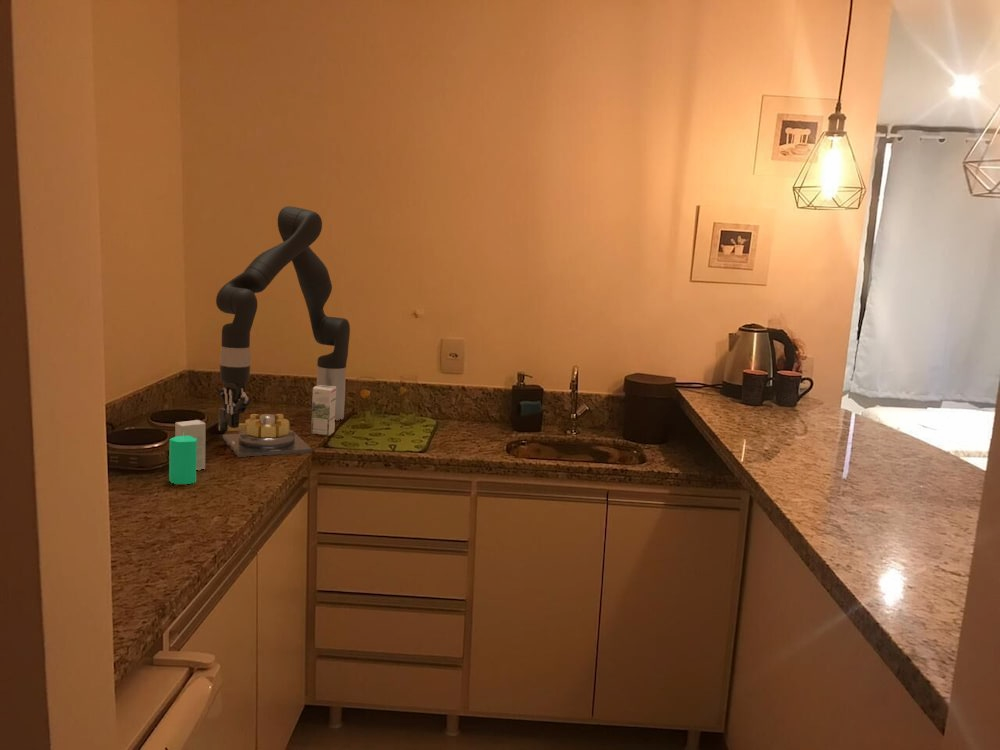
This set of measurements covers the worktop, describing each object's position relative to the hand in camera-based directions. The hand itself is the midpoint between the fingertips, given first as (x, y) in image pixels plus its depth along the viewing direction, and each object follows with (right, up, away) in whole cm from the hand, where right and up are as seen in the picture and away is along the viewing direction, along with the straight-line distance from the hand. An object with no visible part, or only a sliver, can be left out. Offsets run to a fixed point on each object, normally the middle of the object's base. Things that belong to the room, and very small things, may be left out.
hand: (233, 427), depth 207 cm
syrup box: (+17, -4, +29) cm, 34 cm away
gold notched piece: (+2, -2, +9) cm, 10 cm away
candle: (-4, -11, -24) cm, 27 cm away
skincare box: (-6, -10, -15) cm, 19 cm away
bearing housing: (+5, -6, +11) cm, 14 cm away
